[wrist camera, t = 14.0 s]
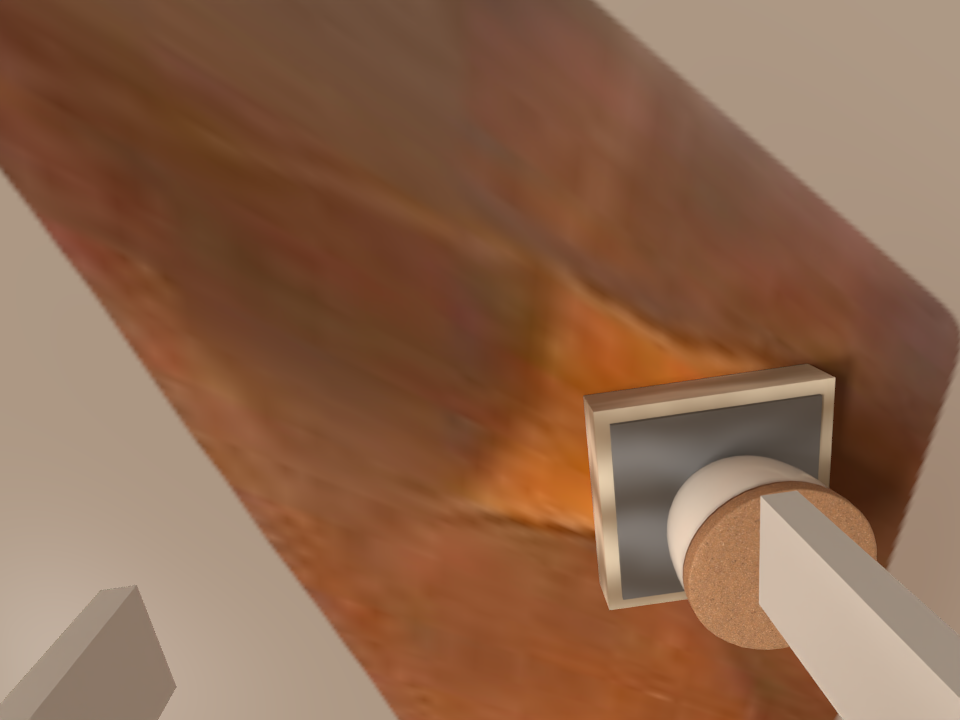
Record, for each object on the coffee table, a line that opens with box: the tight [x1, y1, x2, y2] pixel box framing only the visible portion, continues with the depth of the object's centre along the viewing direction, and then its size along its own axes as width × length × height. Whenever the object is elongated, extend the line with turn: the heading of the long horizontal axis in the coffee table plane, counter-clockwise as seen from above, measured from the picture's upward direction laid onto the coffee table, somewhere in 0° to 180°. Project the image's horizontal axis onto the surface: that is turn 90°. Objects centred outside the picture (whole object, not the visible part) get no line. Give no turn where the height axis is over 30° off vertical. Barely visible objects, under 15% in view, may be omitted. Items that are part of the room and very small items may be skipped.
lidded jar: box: [667, 455, 877, 650], centre depth 34 cm, size 11×11×9 cm
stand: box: [583, 364, 835, 610], centre depth 40 cm, size 16×16×3 cm
